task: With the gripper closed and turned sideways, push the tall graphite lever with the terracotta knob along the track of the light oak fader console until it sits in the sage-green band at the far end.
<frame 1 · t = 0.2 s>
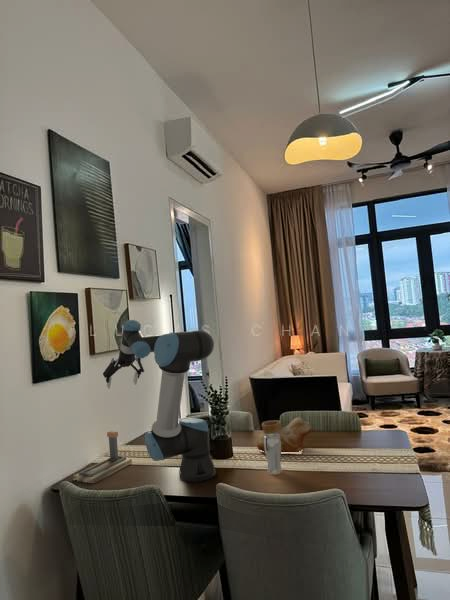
hand: (121, 384, 210), 35 cm above the table, tool tilted 35°, fingers open, 13 cm apart
fader console: (103, 471, 189), on the table
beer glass: (274, 472, 173), on the table
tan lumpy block: (285, 451, 199), on the table
fader lever: (113, 446, 196), point 9 cm above the table, slide at 0.0 cm
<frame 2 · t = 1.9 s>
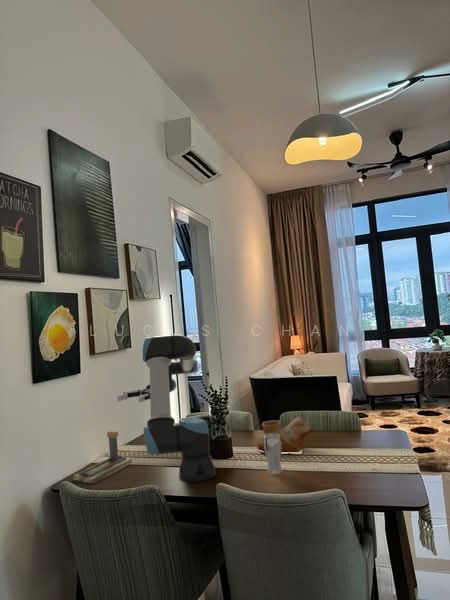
hand: (128, 399, 207), 28 cm above the table, tool horizontal, fingers open, 13 cm apart
nothing on the table moved.
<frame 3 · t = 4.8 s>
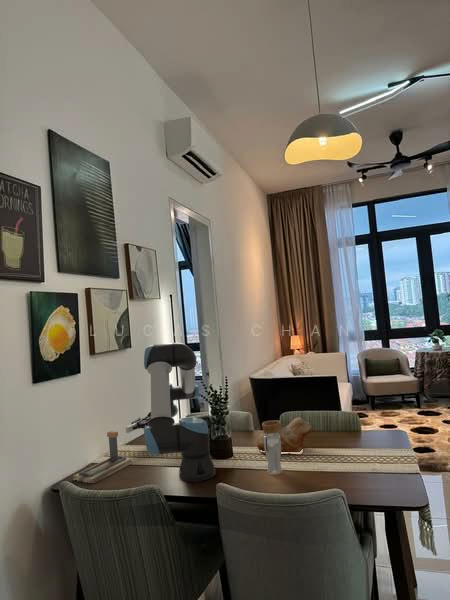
hand: (127, 429, 205), 14 cm above the table, tool horizontal, fingers closed
nothing on the table moved.
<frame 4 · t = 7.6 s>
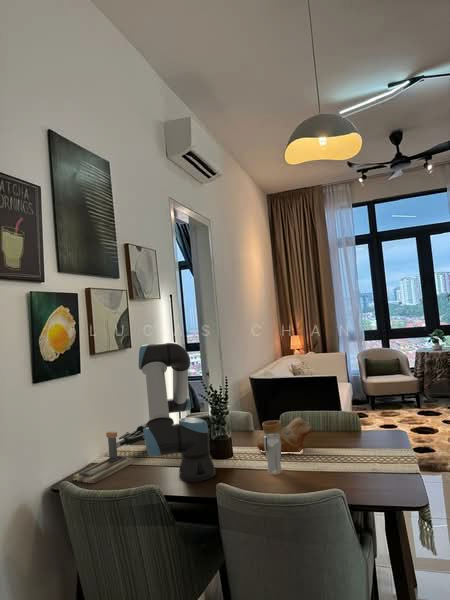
hand: (114, 445, 197), 9 cm above the table, tool horizontal, fingers closed
fader lever: (112, 446, 195), point 9 cm above the table, slide at 0.5 cm, touching gripper
everything else where it was.
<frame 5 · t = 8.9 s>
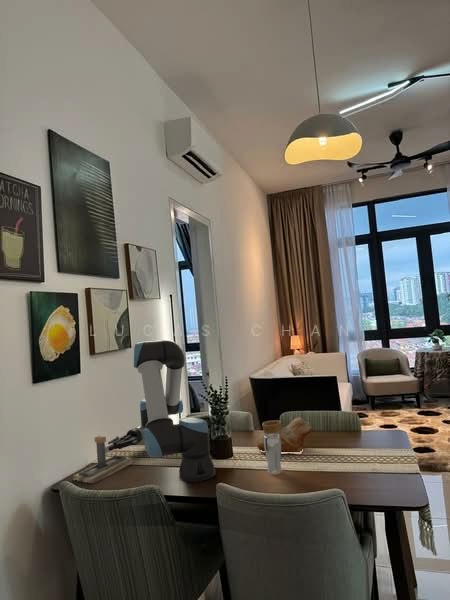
hand: (102, 451, 190), 9 cm above the table, tool horizontal, fingers closed
fader lever: (101, 452, 189), point 9 cm above the table, slide at 7.8 cm, touching gripper
everything else where it was.
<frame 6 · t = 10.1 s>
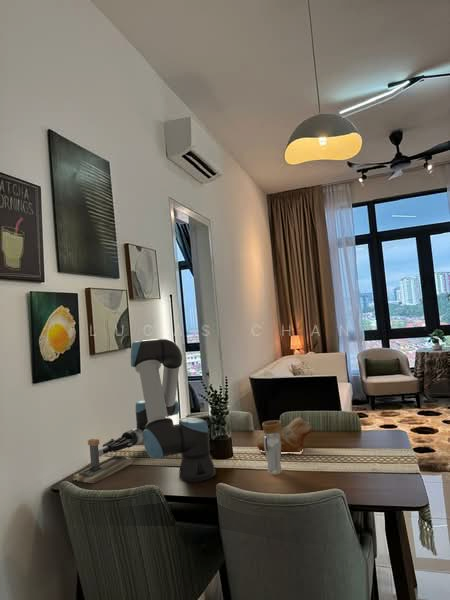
hand: (96, 453, 187), 9 cm above the table, tool horizontal, fingers closed
fader lever: (94, 455, 185), point 9 cm above the table, slide at 11.8 cm, touching gripper
everything else where it was.
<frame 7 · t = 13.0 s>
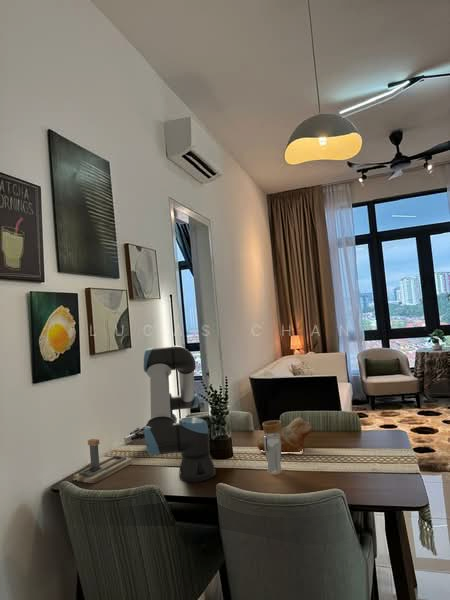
hand: (125, 440, 203), 9 cm above the table, tool horizontal, fingers closed
fader lever: (94, 455, 185), point 9 cm above the table, slide at 11.8 cm
everything else where it was.
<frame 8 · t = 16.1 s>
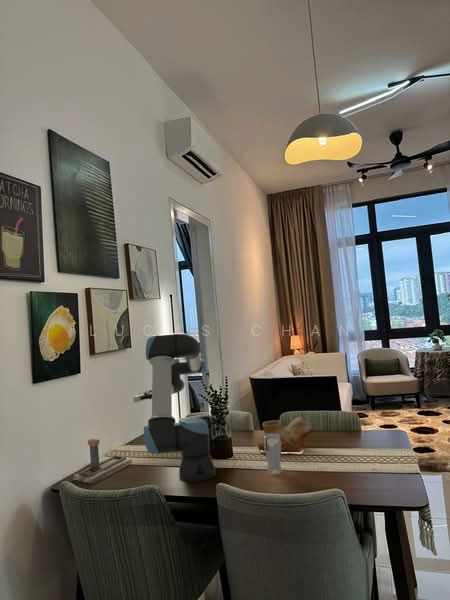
hand: (134, 399, 205), 28 cm above the table, tool horizontal, fingers closed
nothing on the table moved.
at the end: fader lever slide at 11.8 cm; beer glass moved 0.2 cm from its start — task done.
